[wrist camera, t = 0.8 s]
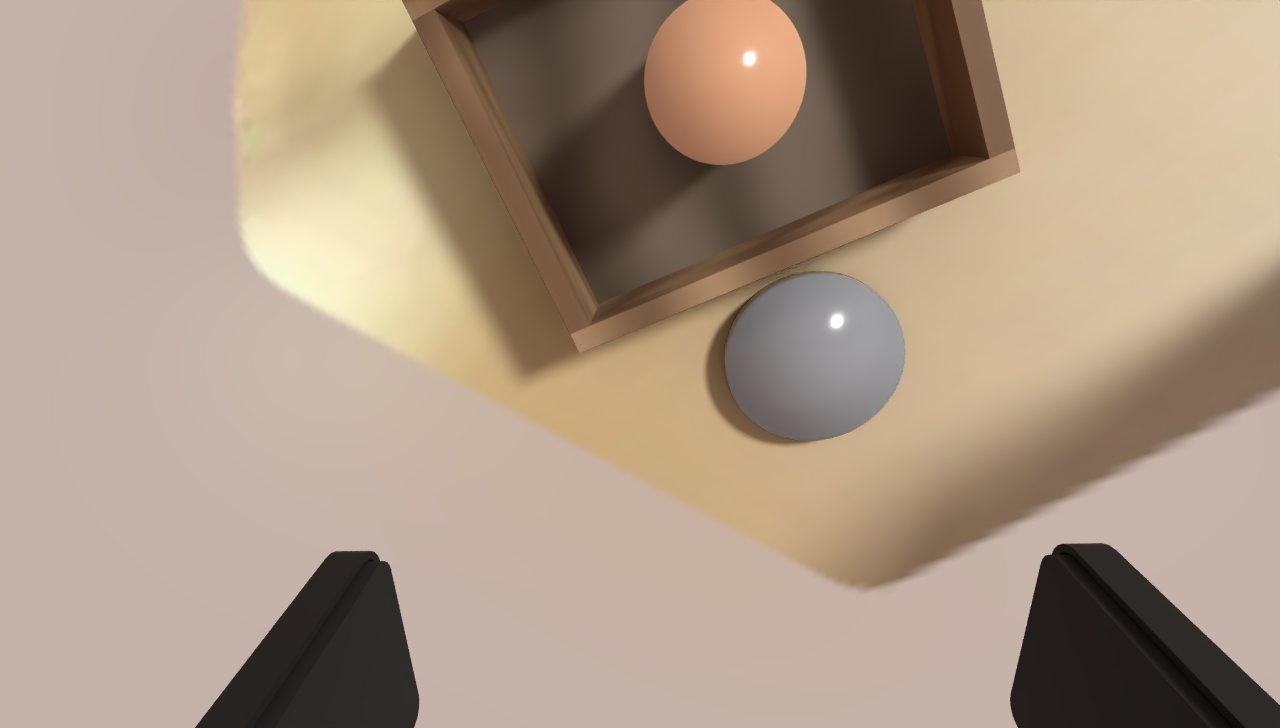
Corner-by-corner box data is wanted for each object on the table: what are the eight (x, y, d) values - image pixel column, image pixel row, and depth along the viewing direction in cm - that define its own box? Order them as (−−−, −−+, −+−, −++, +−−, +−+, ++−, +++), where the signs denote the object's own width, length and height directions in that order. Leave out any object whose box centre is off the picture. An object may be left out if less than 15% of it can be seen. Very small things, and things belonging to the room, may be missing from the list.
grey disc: (869, 242, 31) (875, 246, 30) (918, 397, 34) (926, 405, 33) (698, 312, 32) (699, 317, 32) (758, 454, 35) (761, 463, 34)
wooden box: (876, -232, 24) (913, -295, 21) (975, 165, 29) (1020, 172, 26) (434, 10, 28) (398, -6, 24) (589, 326, 33) (579, 353, 29)
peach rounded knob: (748, -5, 27) (774, -45, 20) (792, 123, 29) (828, 124, 22) (630, 55, 28) (618, 35, 22) (678, 174, 30) (681, 190, 23)
